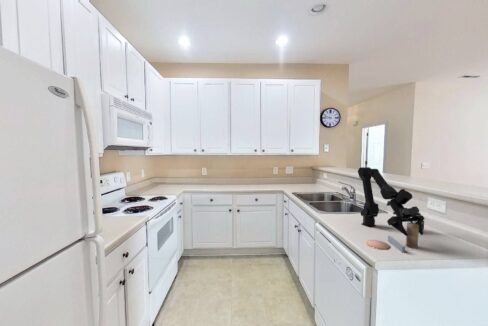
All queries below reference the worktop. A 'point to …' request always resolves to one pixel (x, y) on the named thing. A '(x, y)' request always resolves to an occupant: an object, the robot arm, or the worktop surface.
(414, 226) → the walnut cylinder
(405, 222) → the medicine bottle
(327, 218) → the worktop surface
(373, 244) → the resting pad
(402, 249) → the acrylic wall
